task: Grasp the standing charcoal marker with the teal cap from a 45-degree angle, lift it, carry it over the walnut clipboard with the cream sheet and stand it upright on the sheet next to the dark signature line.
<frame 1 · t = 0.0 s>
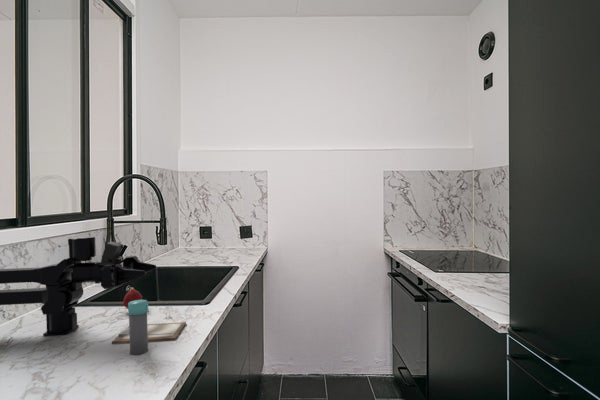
hand: (150, 269, 104), 17 cm above the countertop, tool horizontal, fingers open, 9 cm apart
red rounded piece: (133, 312, 119), on the countertop
clipboard: (151, 333, 98), on the countertop
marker: (139, 351, 86), on the countertop
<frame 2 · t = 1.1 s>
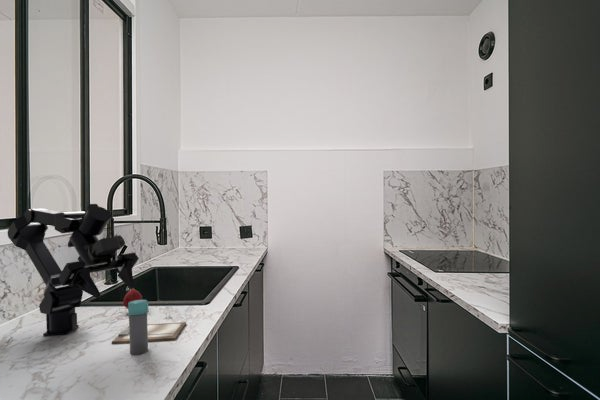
hand: (116, 292, 90), 14 cm above the countertop, tool tilted 45°, fingers open, 9 cm apart
nothing on the countertop moved.
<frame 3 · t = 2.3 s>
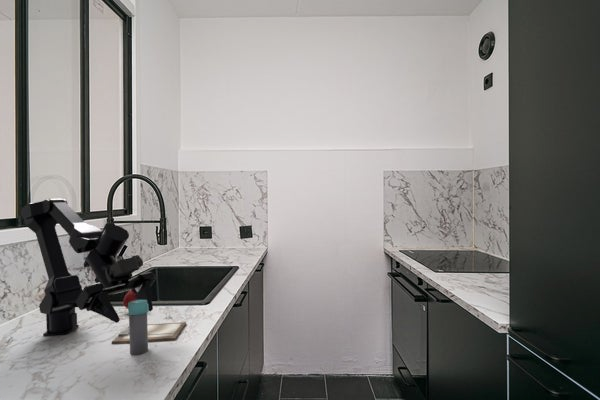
hand: (135, 315, 87), 9 cm above the countertop, tool tilted 45°, fingers open, 9 cm apart
nothing on the countertop moved.
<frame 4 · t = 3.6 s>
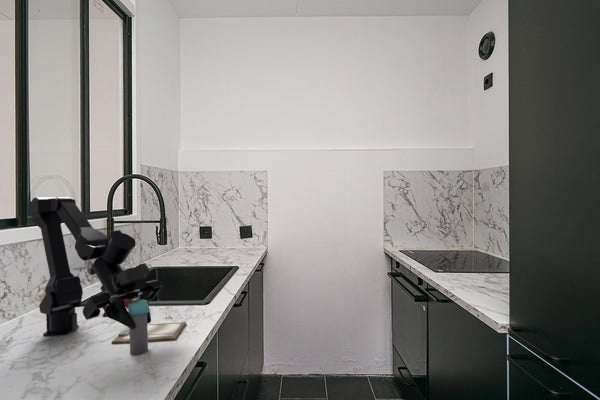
hand: (142, 325, 86), 7 cm above the countertop, tool tilted 45°, fingers closed on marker, 4 cm apart
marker: (139, 351, 86), on the countertop, touching gripper
everything else where it was.
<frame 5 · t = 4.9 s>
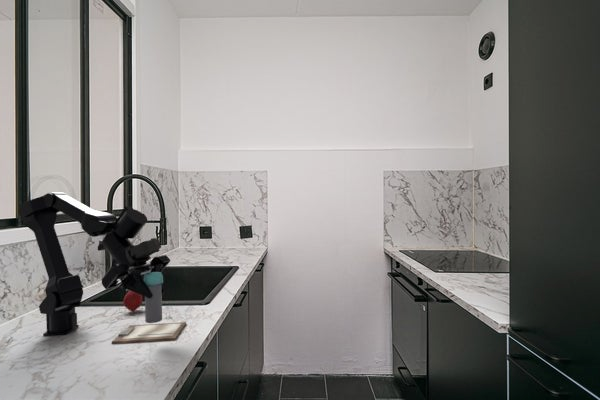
hand: (157, 294, 91), 12 cm above the countertop, tool tilted 45°, fingers closed on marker, 4 cm apart
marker: (153, 320, 91), point 6 cm above the countertop, touching gripper
everything else where it was.
when the fingers open (8 cm above the countertop, at t = 6.6 s): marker stays where it is, resting on clipboard.
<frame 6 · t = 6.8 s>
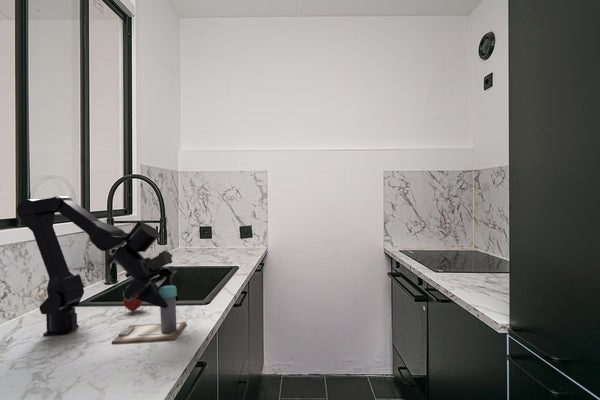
hand: (172, 303, 98), 8 cm above the countertop, tool tilted 45°, fingers open, 6 cm apart
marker: (168, 330, 98), point 1 cm above the countertop, touching clipboard
everything else where it was.
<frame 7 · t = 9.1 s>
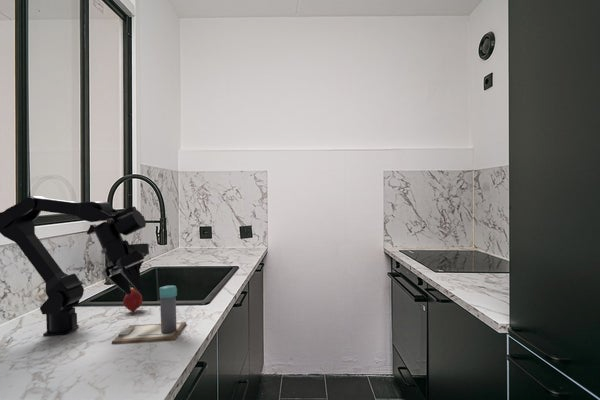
hand: (134, 291, 102), 11 cm above the countertop, tool tilted 25°, fingers open, 9 cm apart
nothing on the countertop moved.
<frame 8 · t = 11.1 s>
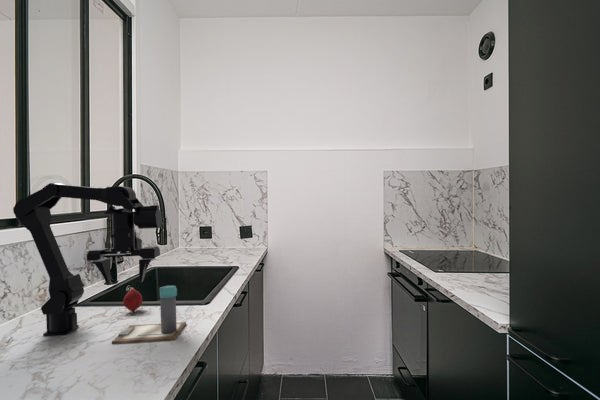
hand: (125, 283, 104), 13 cm above the countertop, tool pointing down, fingers open, 9 cm apart
nothing on the countertop moved.
at the end: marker inside the target area on the clipboard (5.1 cm from its centre), point 0.7 cm above the clipboard's base; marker tilted 1°; the gripper is holding nothing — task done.
